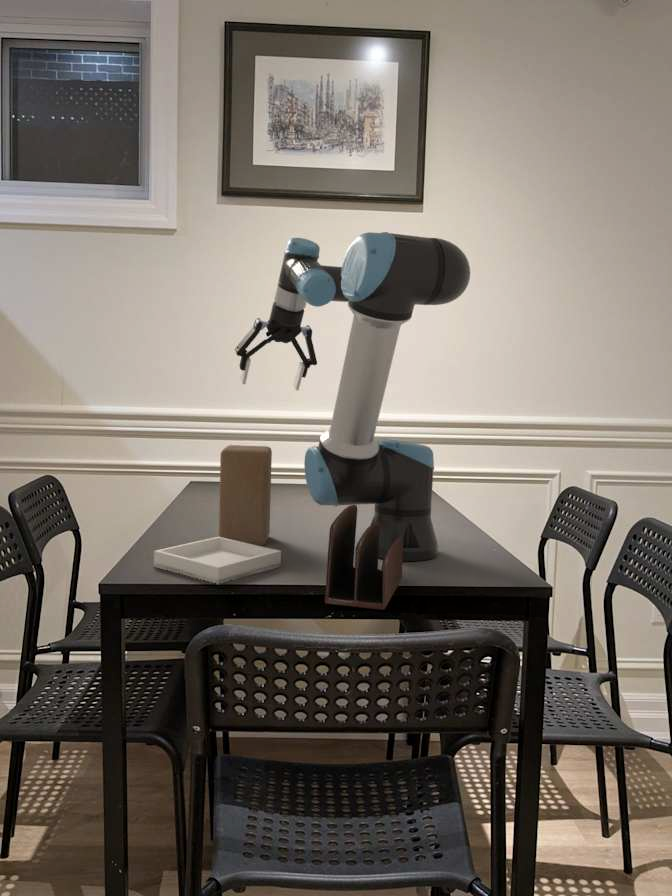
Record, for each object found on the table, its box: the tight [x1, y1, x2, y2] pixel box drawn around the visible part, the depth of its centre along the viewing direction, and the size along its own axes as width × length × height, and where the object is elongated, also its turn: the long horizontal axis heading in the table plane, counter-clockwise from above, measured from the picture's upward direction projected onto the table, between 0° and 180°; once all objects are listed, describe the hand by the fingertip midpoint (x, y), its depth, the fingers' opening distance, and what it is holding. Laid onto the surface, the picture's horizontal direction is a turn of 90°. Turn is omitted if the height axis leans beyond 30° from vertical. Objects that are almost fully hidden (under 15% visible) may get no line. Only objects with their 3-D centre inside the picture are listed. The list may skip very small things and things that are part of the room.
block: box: [218, 444, 273, 547], centre depth 169 cm, size 10×10×20 cm
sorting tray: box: [153, 536, 282, 585], centre depth 149 cm, size 17×17×3 cm
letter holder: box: [324, 505, 404, 611], centre depth 137 cm, size 10×20×14 cm, turn 167°
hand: (269, 384), depth 196 cm, fingers open, 13 cm apart
